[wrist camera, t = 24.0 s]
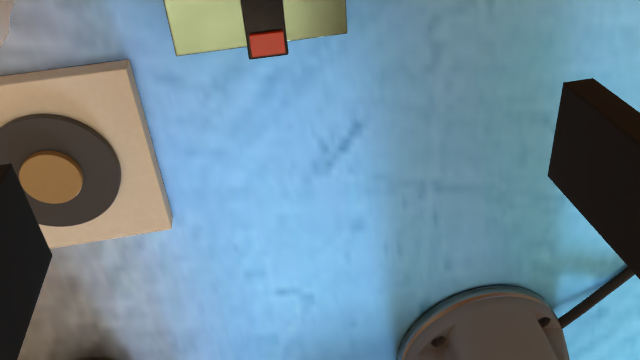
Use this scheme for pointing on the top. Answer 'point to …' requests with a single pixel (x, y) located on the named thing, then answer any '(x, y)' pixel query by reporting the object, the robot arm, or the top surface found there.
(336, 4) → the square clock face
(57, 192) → the hob
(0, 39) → the foam cup
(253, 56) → the tall black monolith
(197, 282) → the top surface
